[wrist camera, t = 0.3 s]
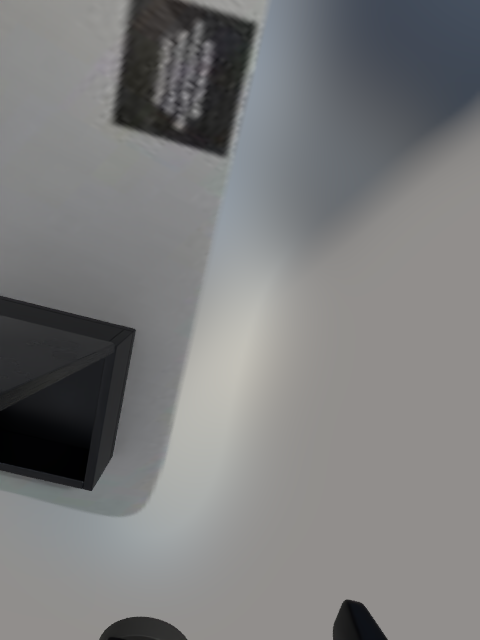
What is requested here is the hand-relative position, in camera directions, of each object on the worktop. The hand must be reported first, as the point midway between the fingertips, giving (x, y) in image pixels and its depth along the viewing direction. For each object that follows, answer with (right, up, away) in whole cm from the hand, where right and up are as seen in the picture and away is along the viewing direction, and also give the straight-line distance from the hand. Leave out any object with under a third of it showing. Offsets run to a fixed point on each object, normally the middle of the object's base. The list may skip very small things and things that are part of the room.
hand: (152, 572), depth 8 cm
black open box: (-11, +2, +17) cm, 20 cm away
